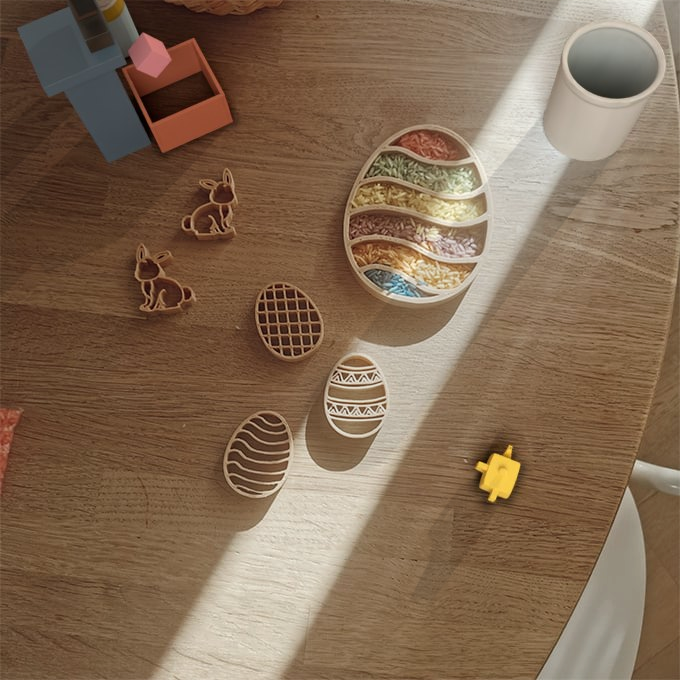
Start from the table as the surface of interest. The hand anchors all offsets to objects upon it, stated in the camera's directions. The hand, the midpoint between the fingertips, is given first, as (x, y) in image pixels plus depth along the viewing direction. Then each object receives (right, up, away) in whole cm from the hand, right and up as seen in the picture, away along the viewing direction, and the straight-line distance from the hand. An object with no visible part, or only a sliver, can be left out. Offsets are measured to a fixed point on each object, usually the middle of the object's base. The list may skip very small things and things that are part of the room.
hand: (83, 1), depth 100 cm
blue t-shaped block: (-2, -11, +27) cm, 29 cm away
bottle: (-5, +7, +34) cm, 35 cm away
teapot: (+57, -66, +5) cm, 87 cm away
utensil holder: (+76, -11, +23) cm, 80 cm away
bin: (+8, -6, +28) cm, 30 cm away
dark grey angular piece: (0, -1, +4) cm, 4 cm away
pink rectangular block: (+5, -2, +12) cm, 13 cm away
